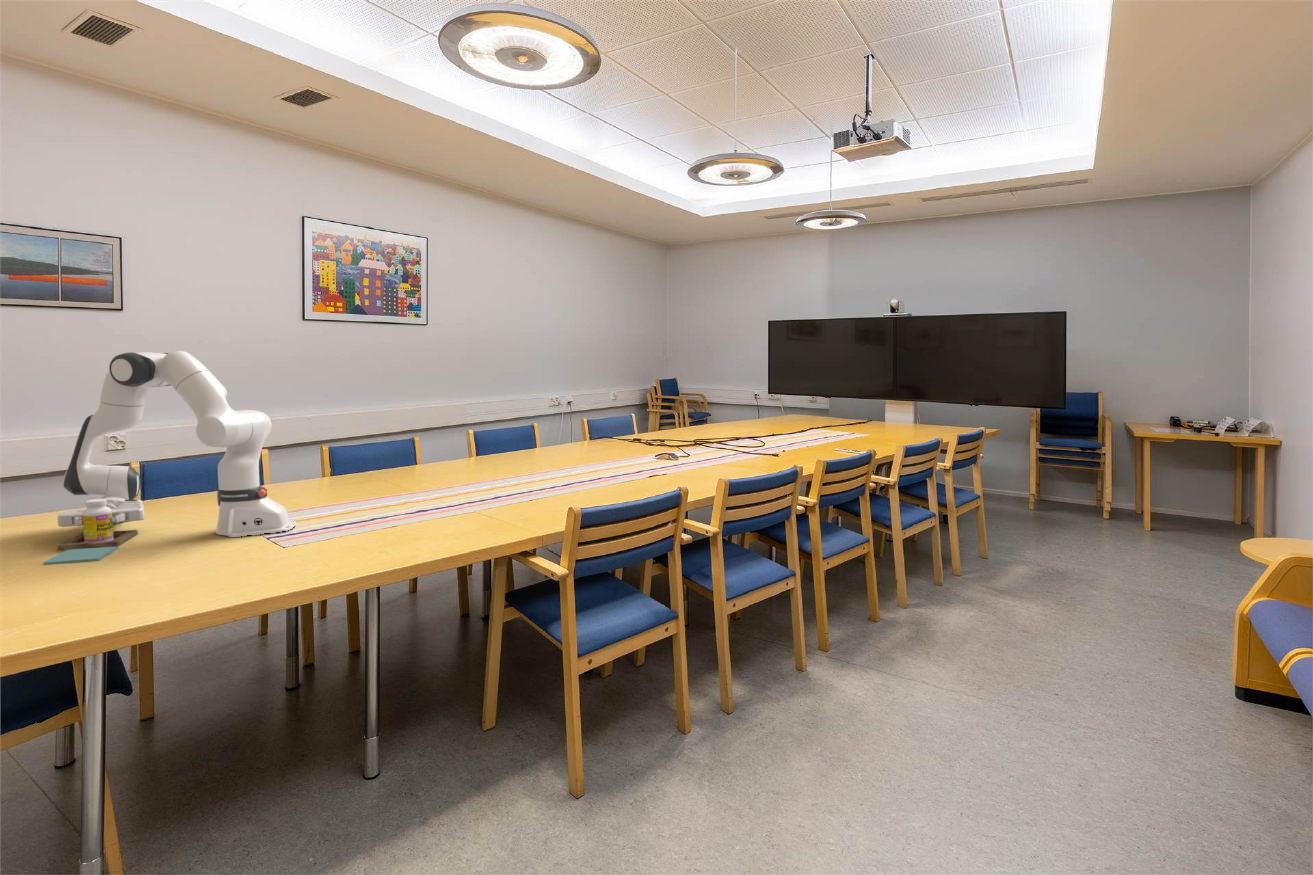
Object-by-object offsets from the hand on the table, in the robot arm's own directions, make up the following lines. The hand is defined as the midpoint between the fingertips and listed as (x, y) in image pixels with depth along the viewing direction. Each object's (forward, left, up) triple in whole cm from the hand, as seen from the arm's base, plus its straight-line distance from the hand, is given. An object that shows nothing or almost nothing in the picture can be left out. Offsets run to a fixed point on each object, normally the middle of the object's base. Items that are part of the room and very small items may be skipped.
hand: (96, 521), depth 189 cm
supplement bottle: (0, -1, -7) cm, 7 cm away
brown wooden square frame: (0, -1, -7) cm, 7 cm away
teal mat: (-2, +14, -7) cm, 16 cm away
